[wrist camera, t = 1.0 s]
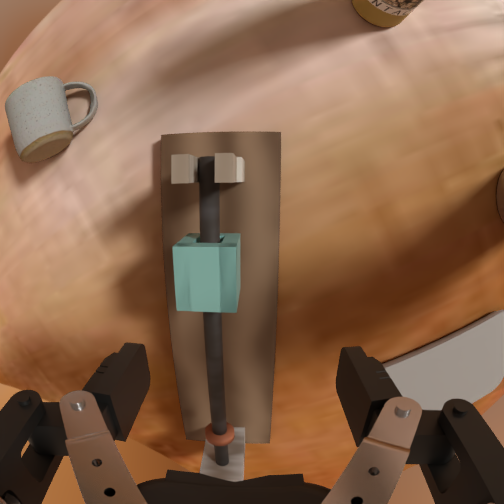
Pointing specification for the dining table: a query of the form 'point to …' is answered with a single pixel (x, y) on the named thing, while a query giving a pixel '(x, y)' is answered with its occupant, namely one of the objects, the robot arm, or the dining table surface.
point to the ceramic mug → (43, 117)
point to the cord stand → (251, 288)
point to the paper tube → (385, 10)
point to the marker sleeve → (207, 273)
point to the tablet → (453, 365)
